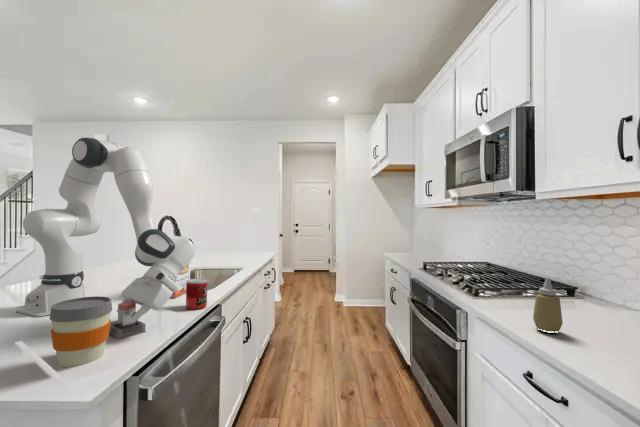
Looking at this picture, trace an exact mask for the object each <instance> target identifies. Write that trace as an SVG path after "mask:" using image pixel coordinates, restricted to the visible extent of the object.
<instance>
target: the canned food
mask: <svg viewBox="0 0 640 427" xmlns="http://www.w3.org/2000/svg"><path fill="white" fill-rule="evenodd" d="M185 295H186V296H185V298H186V299H185V306H186V309H187V310H190V311H199V310H204V309H205V308H206V307H207V305H208V302H207V301H208V279H206V278H190V280H187V284H186V293H185Z"/></svg>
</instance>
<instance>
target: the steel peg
mask: <svg viewBox="0 0 640 427" xmlns="http://www.w3.org/2000/svg"><path fill="white" fill-rule="evenodd" d="M117 309H118V312H117V320H118V328H119V329H124V328H127V327H131V326H135V321H136V320H134V319H132V318H131V316H132V315H133V313H134V312H137V311H136V310H137V304H136V303H134V302H131V301H129V302H124V303H122V302H120V303H117Z"/></svg>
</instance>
